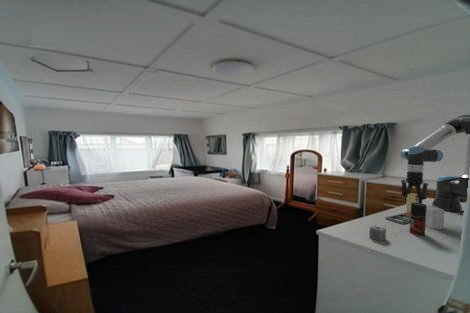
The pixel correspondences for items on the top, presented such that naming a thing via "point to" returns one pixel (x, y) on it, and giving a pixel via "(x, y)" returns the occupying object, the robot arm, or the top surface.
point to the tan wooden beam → (411, 199)
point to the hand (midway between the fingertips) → (412, 208)
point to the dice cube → (377, 233)
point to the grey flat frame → (399, 218)
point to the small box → (434, 217)
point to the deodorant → (418, 219)
